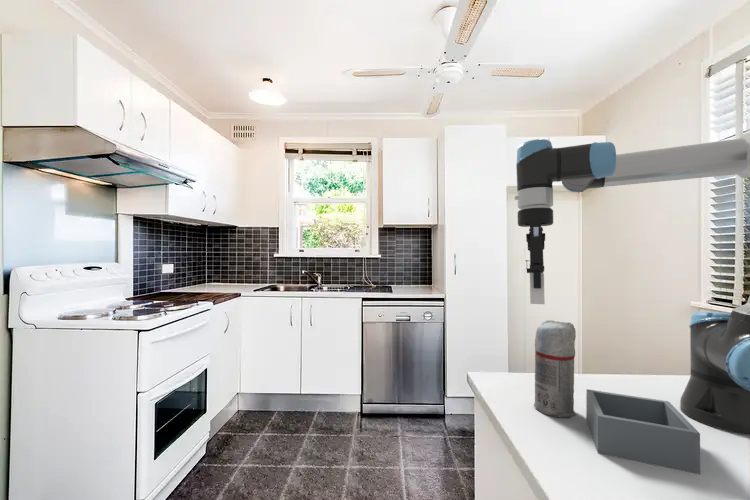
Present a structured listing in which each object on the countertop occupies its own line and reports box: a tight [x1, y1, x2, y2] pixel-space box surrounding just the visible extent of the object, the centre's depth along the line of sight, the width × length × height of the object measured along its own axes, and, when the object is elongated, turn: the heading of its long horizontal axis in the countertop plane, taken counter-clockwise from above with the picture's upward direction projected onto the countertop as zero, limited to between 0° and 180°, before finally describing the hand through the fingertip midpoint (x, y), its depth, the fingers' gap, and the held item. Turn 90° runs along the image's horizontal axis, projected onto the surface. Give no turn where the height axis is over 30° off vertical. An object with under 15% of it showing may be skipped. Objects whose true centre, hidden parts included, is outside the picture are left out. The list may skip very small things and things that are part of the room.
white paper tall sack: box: [533, 319, 577, 418], centre depth 79 cm, size 8×8×20 cm
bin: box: [585, 389, 701, 475], centre depth 65 cm, size 14×14×6 cm
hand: (536, 300), depth 80 cm, fingers open, 13 cm apart
